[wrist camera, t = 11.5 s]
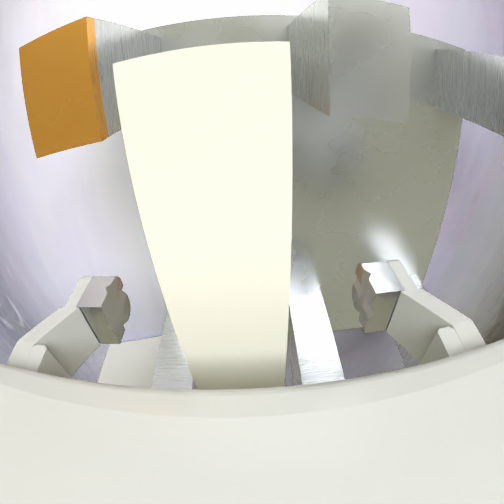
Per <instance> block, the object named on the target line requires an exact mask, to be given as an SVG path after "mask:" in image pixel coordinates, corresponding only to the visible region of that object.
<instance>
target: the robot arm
mask: <svg viewBox="0 0 504 504" xmlns="http://www.w3.org/2000/svg"><path fill="white" fill-rule="evenodd" d="M355 273H356V276H357V279H356V280H355V281H354V283H353V287H352V301H353V305H354V308H355V309H356V310H357V311H358V312H360V315H359V321H360V324H361V327H362V329H363V332H364V333H369V332H377V331H385V330H386V332H387V333H388V334H389V335H390V336H392V337H393V338H394V339H395V340H396V341H397V342H398V343H399V344H400V345H401V346H403V347H404V348H405V349H406V350H407V351H408V352H409V353H410V354H411V355H412V356H413V357H414V358H416V359H417V360H418V361H419V362H420V363H419V365H416V366H412V367H408V368H403V369H399V370H394V371H389V372H384V373H379V374H374V375H368V376H362V377H356V378H350V379H344V380H337V381H330V382H322V383H314V384H305V385H295V386H284V387H271V388H254V389H221V390H198V389H166V388H148V387H135V386H124V385H114V384H106V383H98V382H90V381H83V380H77V379H71V377H72V375H73V374H74V373H75V372H76V371H77V370H78V369H79V368H80V366H81V365H82V364H83V363H84V362H85V361H86V360H87V359H88V358H89V356H90V355H91V354H92V353H93V352H94V351H95V350H96V349H97V348H98V347H99V346H100V343H101V344H120V343H121V340H122V337H123V334H124V331H125V329H124V327H123V324H124V323H126V322H127V321H128V319H129V316H130V301H129V298H128V296H127V294H125V293H124V292H123V291H122V287H123V284H122V281H121V279H120V278H119V277H117V276H110V277H82V278H80V280H79V282H78V283H77V285H76V287H75V289H74V290H73V292H72V294H71V296H70V297H69V299H68V301H67V303H66V305H65V307H60V308H59V309H58V310H56V311H55V312H54V313H52V314H51V315H50V316H49V317H47V318H46V319H45V320H43V321H42V322H41V323H39V324H38V325H37V326H36V327H34V328H33V329H32V330H31V331H29V332H28V333H27V334H25V335H24V336H23V337H22V338H20V339H19V340H18V342H17V344H16V346H15V347H14V349H13V351H12V354H11V356H10V358H9V360H8V362H7V364H6V365H5V364H2V363H0V504H504V339H502V340H499V341H496V342H494V343H491V344H488V345H486V344H485V342H484V340H483V338H482V337H481V335H480V333H479V331H478V330H477V328H476V326H475V325H474V323H473V321H472V320H471V319H469V318H468V317H466V316H465V315H463V314H462V313H460V312H458V311H457V310H455V309H454V308H452V307H450V306H449V305H447V304H446V303H444V302H442V301H441V300H439V299H438V298H436V297H434V296H433V295H431V294H429V293H428V292H426V291H425V290H423V289H418V288H417V287H416V285H415V283H414V282H413V280H412V279H411V277H410V275H409V274H408V272H407V271H406V269H405V268H404V266H403V265H402V263H401V262H400V261H399V260H398V259H395V260H386V261H379V262H367V263H358V265H357V267H356V271H355Z"/></svg>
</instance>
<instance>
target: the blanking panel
mask: <svg viewBox="0 0 504 504" xmlns="http://www.w3.org/2000/svg"><path fill="white" fill-rule="evenodd" d="M113 73H114V81H115V89H116V97H117V104H118V110H119V117H120V123H121V129H122V134H123V140H124V145H125V151H126V156H127V161H128V166H129V170H130V175H131V180H132V184H133V189H134V193H135V197H136V201H137V206H138V210H139V214H140V218H141V222H142V225H143V229H144V233H145V237H146V240H147V244H148V248H149V251H150V255H151V258H152V262H153V265H154V268H155V272H156V275H157V278H158V281H159V285H160V288H161V291H162V294H163V297H164V300H165V303H166V306H167V309H168V312H169V315H170V318H171V321H172V324H173V327H174V329H175V332H176V335H177V338H178V340H179V343H180V346H181V349H182V351H183V354H184V356H185V359H186V362H187V364H188V367H189V369H190V372H191V374H192V377H193V379H194V382H195V384H196V387H197V389H198V390H221V389H254V388H271V387H284V383H285V369H286V354H287V337H288V318H289V297H290V272H291V239H292V89H291V58H290V42H284V41H272V42H242V43H228V44H217V45H207V46H199V47H191V48H184V49H178V50H172V51H166V52H161V53H156V54H151V55H146V56H142V57H137V58H133V59H129V60H125V61H121V62H117V63H114V64H113Z"/></svg>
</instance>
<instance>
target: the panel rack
mask: <svg viewBox="0 0 504 504" xmlns="http://www.w3.org/2000/svg"><path fill="white" fill-rule="evenodd" d="M272 41H284V42H290V58H291V89H292V239H291V272H290V297H289V318H288V344H289V351H290V358H291V365H292V373H293V380H294V386H295V385H305V384H314V383H322V382H330V381H337V380H344V379H345V378H344V374H343V370H342V366H341V362H340V358H339V355H338V351H337V347H336V343H335V340H334V336H333V332H332V331H337V330H345V329H353V328H361V324H360V321H359V315H360V312H358V311H357V310H356V309H355V308H354V305H353V301H352V287H353V283H354V281H355V280H356V279H357V276H356V273H355V271H356V267H357V265H358V263H367V262H379V261H386V260H395V259H398V260H399V261H400V262H401V263H402V265H403V266H404V268H405V269H406V271H407V272H408V274H409V275H410V277H411V279H412V280H413V282H414V283H415V285H416V287H417V288H418V289H423V290H425V291H426V289H425V288H424V286H423V285H422V283H423V280H424V278H425V275H426V272H427V269H428V266H429V263H430V260H431V257H432V254H433V251H434V248H435V245H436V242H437V238H438V235H439V231H440V228H441V224H442V221H443V217H444V213H445V209H446V205H447V201H448V197H449V192H450V188H451V183H452V179H453V174H454V168H455V163H456V157H457V151H458V145H459V138H460V131H461V123H462V118H464V119H466V120H469V121H471V122H473V123H476V124H478V125H480V126H483V127H485V128H487V129H489V130H491V131H493V132H496V133H498V134H500V135H502V136H504V56H499V55H493V54H486V53H479V52H470V51H465V50H464V49H462V48H459V47H456V46H453V45H451V44H448V43H445V42H442V41H438V40H435V39H432V38H429V37H425V36H422V35H418V34H414V33H411V32H410V15H409V8H408V7H404V6H401V5H397V4H393V3H389V2H384V1H380V0H316V1H315V2H314V3H313V4H311V5H310V6H309V7H308V8H307V9H306V10H304V11H303V12H302V13H301V14H300V15H299V16H285V15H261V16H237V17H224V18H214V19H205V20H197V21H190V22H183V23H177V24H172V25H166V26H161V27H156V28H152V29H147V30H143V31H140V30H136V29H133V28H130V27H126V26H123V25H119V24H115V23H111V22H107V21H103V20H99V19H95V18H90V17H84V18H82V19H79V20H77V21H74V22H72V23H69V24H67V25H65V26H62V27H60V28H58V29H56V30H54V31H51V32H49V33H47V34H45V35H43V36H41V37H39V38H37V39H35V40H33V41H31V42H29V43H28V44H26V45H24V46H22V47H20V48H19V53H20V65H21V75H22V84H23V91H24V98H25V104H26V110H27V116H28V121H29V126H30V131H31V135H32V140H33V144H34V148H35V153H36V157H37V158H39V157H43V156H46V155H49V154H53V153H56V152H60V151H64V150H67V149H71V148H75V147H79V146H83V145H87V144H91V143H96V142H100V141H103V140H104V139H106V138H107V137H109V136H111V135H112V134H114V133H116V132H117V131H119V130H121V123H120V117H119V110H118V104H117V97H116V89H115V81H114V73H113V64H114V63H117V62H121V61H125V60H129V59H133V58H137V57H142V56H146V55H151V54H156V53H161V52H166V51H172V50H178V49H184V48H191V47H199V46H207V45H217V44H228V43H242V42H272ZM426 292H427V291H426ZM394 340H395V339H394ZM395 342H396V345H397V347H398V350H399V352H400V355H401V357H402V360H403V362H404V365H405V367H406V368H408V367H412V366H416V365H419V363H420V362H419V361H418V360H417V359H416V358H414V357H413V356H412V355H411V354H410V353H409V352H408V351H407V350H406V349H405V348H404V347H403V346H401V345H400V344H399V343H398V342H397V341H396V340H395ZM151 388H166V389H197V387H196V384H195V382H194V379H193V377H192V374H191V372H190V369H189V367H188V364H187V362H186V359H185V356H184V354H183V351H182V349H181V346H180V343H179V340H178V338H177V335H176V332H175V329H174V327H173V324H172V321H171V318H170V315H169V312H168V310H167V314H166V318H165V323H164V327H163V331H162V336H161V340H160V345H159V350H158V354H157V359H156V364H155V369H154V374H153V379H152V385H151Z"/></svg>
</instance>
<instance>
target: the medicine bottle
mask: <svg viewBox="0 0 504 504" xmlns="http://www.w3.org/2000/svg"><path fill="white" fill-rule="evenodd" d="M160 340H161V336H156V337H151V338H145V339H139V340H133V341H127V342H121V343H120V344H110V345H109V347H108V350H107V353H106V356H105V359H104V362H103V366H102V369H101V372H100V375H99V379H98V383H106V384H114V385H124V386H135V387H148V388H151V385H152V379H153V374H154V369H155V364H156V359H157V354H158V350H159V345H160Z"/></svg>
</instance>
